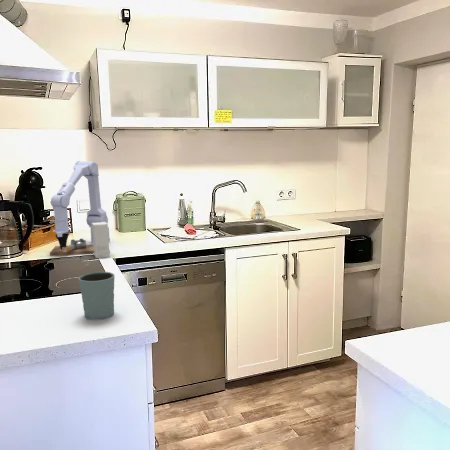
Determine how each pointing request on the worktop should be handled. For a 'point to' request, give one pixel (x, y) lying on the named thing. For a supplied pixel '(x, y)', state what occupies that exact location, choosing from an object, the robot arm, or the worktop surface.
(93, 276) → the grey-green cup
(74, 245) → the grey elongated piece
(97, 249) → the skincare box
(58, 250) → the walnut board
